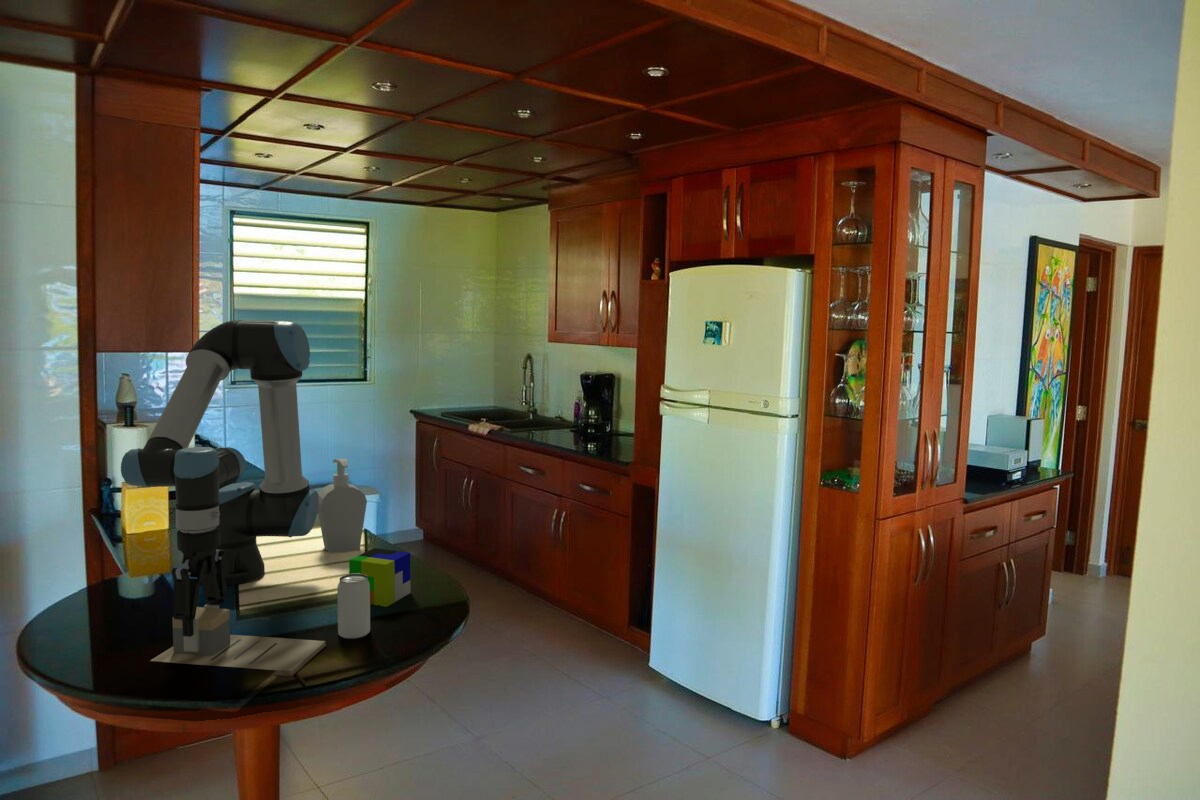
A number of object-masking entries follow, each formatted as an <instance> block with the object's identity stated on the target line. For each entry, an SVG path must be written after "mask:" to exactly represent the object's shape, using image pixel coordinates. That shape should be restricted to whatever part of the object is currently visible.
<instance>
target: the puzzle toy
mask: <svg viewBox="0 0 1200 800" xmlns="http://www.w3.org/2000/svg"><path fill="white" fill-rule="evenodd" d="M348 570H349V571H348V572H349V573H348V574H364V575H366V576H367V580H368V582H369V584H370V605H372V604H374V605H373V606H378V605H380V606H379V607H385V608H387V607H388V606H391V605H392V604H394V603H396V602H397V601H399V600H401V599H403V598H404V597H406V596H407V595H410V594H411V552H406V551H399V550H393V549H386V548H385V549H384V548H375V547H373V548H372V549H369V550H368V551H365V552H362V553H360V554H359V555H356V556H354V557H352V558H350V559H348Z"/></svg>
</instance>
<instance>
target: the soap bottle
mask: <svg viewBox="0 0 1200 800" xmlns="http://www.w3.org/2000/svg"><path fill="white" fill-rule="evenodd" d="M332 463H336V473H334V474H333V476H332V477H333V483H330V484H328V485H326V486H324V487H323V488H321V490H320V491H318V492H317V493H318V497H319V504H318V512H317V515H318V520H319V525H320V531H321V536H322V541H323V542H322V543H323V545H324V549H325V550H326V551H327V553H328V554H337V553H345V552H353V551H359V550H360V549H361V542H362V537H363V536H362V535H363V529H364V523H365V517H366V511H367V502H368V501H367V497H366V495H365V493H363V492H362V491H361V490H360V489H359V488H358V487H356V486H355V485H353V484H351V483H350V482H349V478H350V477H349V473H347V472H346V473H345V469H346V468H348V467H349V465H348V464H349V463H348V459H347V458H336V459H333V460H332Z"/></svg>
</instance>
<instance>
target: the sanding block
mask: <svg viewBox="0 0 1200 800" xmlns="http://www.w3.org/2000/svg"><path fill="white" fill-rule="evenodd" d="M195 617H196V618H198V620H199V651H198V652H190V651H184V638H183V627H182V620H177V619H174V616H172V618H171V619H172V642H173V645H172V647H173V650H174V653H184V654H197V655H210V656H213V655H214V654H216V653H217V652H218V651H220V650H221V649H223V648H224V647H226V646H227V645H228V644H230V635H231V626H230V625H231V624H230V623H231V621H230V619H231V618H230V617H231V616H230V608H220V607H219V608H204V606H203V607H202V606H197V609H196V615H195Z"/></svg>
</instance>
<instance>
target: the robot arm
mask: <svg viewBox="0 0 1200 800" xmlns="http://www.w3.org/2000/svg"><path fill="white" fill-rule="evenodd" d="M310 350H311V349H310V344H309V339H308V336H307V334H306V332H305V330H304V328H303V327H302V326H301V325H300V324H299V323H297V322H293V321H286V320H285V321H284V320H243V319H240V320H239V319H235V320H234V319H233V320H229V321H226V322H223V323H220V324H218V325H216V326H215V327H213V328H212V329H209V330H208V331H206V333H205V334H204V335H202V336H201V337H200V338H199V339H198V340H197V341H196V342H195V343H194V344H193V345H192V347H191V349H190V350H189V352H188V354H187V356H186V358H185V366H186V369H185V370H184V371H183V373H182V375H181V377H180V379H179V381H178V383H177V385H176V387H175V388H174V391H173V392H172V394H171V396H170V398H169V400H168V401H167V404H166V406H165V407H164V408H163V409H164V410H163V411H162V414H161V415H160V417H159V419H158V421H157V423H156V425H155V426H154V429H153V430H152V432H151V434H150V436H149V438H148V440H147V441H146V443H145V445H144V447H143V448H140V447H138V448H135V449H134V448H131V449H130V450H128V451H126V452H125V453H124V454H123V456H122V458H121V459H122V460H121V462H120V473H121V478H122V479H123V480H124V482H125V483H126V484H127V485H129V486H133V487H134V486H135V487H146V488H151V487H170V488H171V487H174V488H175V491H174V492H175V528H176V529H177V530H178V531H177V532H176V545H177V546H176V547H177V550H178V551H180V552H181V553H182V560H181V565H179V567H174V568H172V570H171V575H172V579H173V617H174V619H177V620H182V627H183V638H184V651H190V652H198V651H199V620H198V618H196V617H195V615H196V609H197V607H198V601H199V594H200V588H201V585H202V588H203V593H204V595H205V600H206V604H204V605H203V607H204V608H220V605H224V604H225V603H226V600H225V598H226V597H227V586H232V585H240V584H243V583H244V584H245V583H249V582H252V581H255V580H258V579H260V578H262V577H263V576H264V575H265V573H266V572H265V570H266V569H265V562H264V560H263V556H262V554H261V551H260V550H259V547H258V543H257V537H283V538H284V537H285V538H292V537H304V536H307V535H308V534H309V533H310V532H311V530H313V527H314V525H315V522H316V519H317V515H318V504H319V497H318V493H319V492H317V490H314V489H312V488H310V481H309V479H307V478H306V477H305V476H303V467H302V466H303V465H302V453H301V451H302V450H301V438H300V421H299V404H298V392H297V391H298V390H297V384H298V382H299V381H300V379H302V378H303V371H306V370H308V368H309V365H310V361H311V360H310V357H311V351H310ZM233 370H234V371H235V370H249V374H250V375H249V376H250V379H251V381H253V382H254V383H255V384H257V386H258V389H257V390H258V399H259V412H260V426H261V440H262V454H263V467H264V468H263V469H264V479H263V481H262V482H260V484H259V487H258V489H257V485H256V484H255V483H254V482H250V481H243V482H237V481H238V480H239V479H240V478H241V477H243V476H244V474H245V472H246V467H247V464H246V463H247V461H246V459H245V457H244V455H243V453H241V452H240V450H238V449H237V448H236V449H235V448H234V447H219V448H214V447H209V446H195V447H194V446H193V447H189V446H190V445H191V442H192V440H193V438H194V436H195V433H197V430H198V427H199V425H200V423H201V421H202V420H203V418H204V415H205V413H206V411H207V409H208V407H209V405H210V403H211V402H212V398H214V395H215V393H216V390H217V388H218V387H219V384H220V383H221V381H223V380H226V378H228V377H229V374H230V373H231V371H233Z"/></svg>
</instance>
